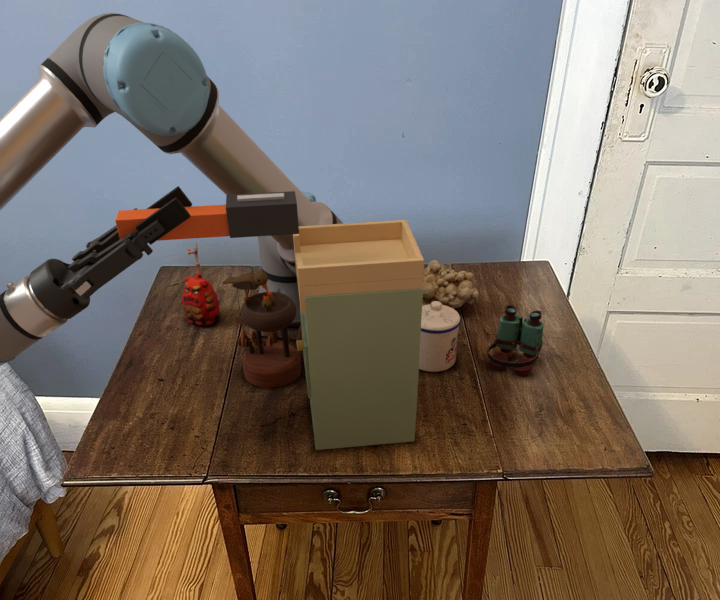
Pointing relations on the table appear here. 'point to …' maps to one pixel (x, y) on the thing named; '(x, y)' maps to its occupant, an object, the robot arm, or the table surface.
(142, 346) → the table surface
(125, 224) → the bar
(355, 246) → the drawer stand
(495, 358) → the binoculars
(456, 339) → the teacup with lid
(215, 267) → the table surface
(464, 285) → the mineral formation
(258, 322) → the music box
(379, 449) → the table surface
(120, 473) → the table surface
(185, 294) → the red clay folk toy
